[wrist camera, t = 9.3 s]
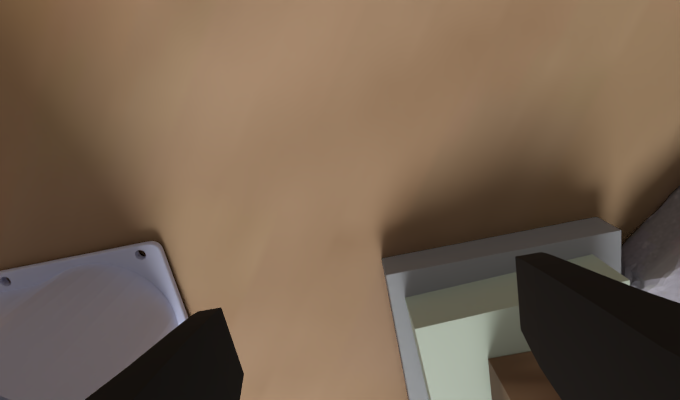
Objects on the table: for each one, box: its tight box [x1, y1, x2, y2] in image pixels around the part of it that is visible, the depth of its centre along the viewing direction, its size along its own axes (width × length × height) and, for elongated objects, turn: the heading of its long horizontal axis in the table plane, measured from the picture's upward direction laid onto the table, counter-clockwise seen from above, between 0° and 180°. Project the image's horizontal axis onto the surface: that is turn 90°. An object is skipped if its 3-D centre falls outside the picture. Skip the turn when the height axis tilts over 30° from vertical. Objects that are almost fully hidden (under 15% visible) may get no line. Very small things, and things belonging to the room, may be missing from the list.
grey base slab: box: [382, 217, 621, 400], centre depth 22 cm, size 11×11×2 cm
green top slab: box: [405, 254, 630, 400], centre depth 19 cm, size 9×9×2 cm
